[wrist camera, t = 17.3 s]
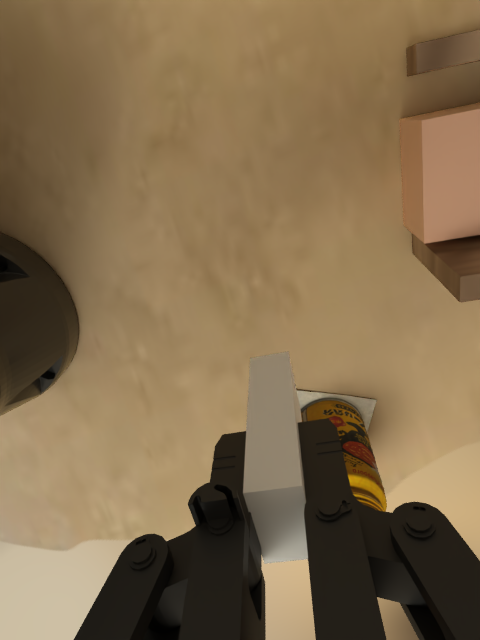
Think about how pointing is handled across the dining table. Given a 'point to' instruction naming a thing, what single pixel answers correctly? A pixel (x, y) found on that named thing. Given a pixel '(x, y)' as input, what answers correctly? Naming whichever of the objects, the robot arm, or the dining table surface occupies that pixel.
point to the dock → (467, 252)
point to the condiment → (350, 440)
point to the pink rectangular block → (441, 173)
